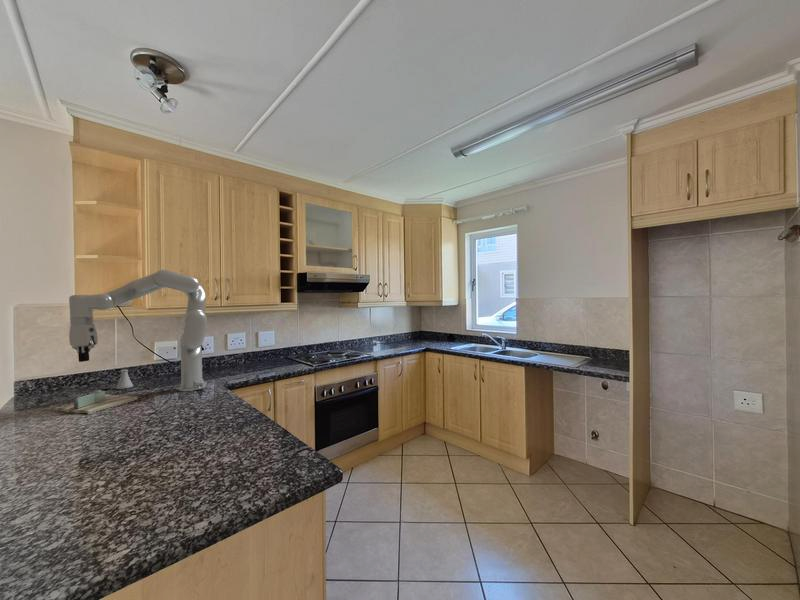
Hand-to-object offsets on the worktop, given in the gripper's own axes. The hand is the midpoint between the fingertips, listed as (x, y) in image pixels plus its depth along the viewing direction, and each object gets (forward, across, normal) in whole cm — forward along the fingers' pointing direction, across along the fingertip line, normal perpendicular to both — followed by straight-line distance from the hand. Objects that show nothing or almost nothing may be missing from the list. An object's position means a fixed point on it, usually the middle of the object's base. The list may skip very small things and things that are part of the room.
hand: (84, 361), depth 149 cm
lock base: (+21, -6, 0) cm, 21 cm away
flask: (+21, +12, -29) cm, 38 cm away
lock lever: (+19, -6, +3) cm, 20 cm away
